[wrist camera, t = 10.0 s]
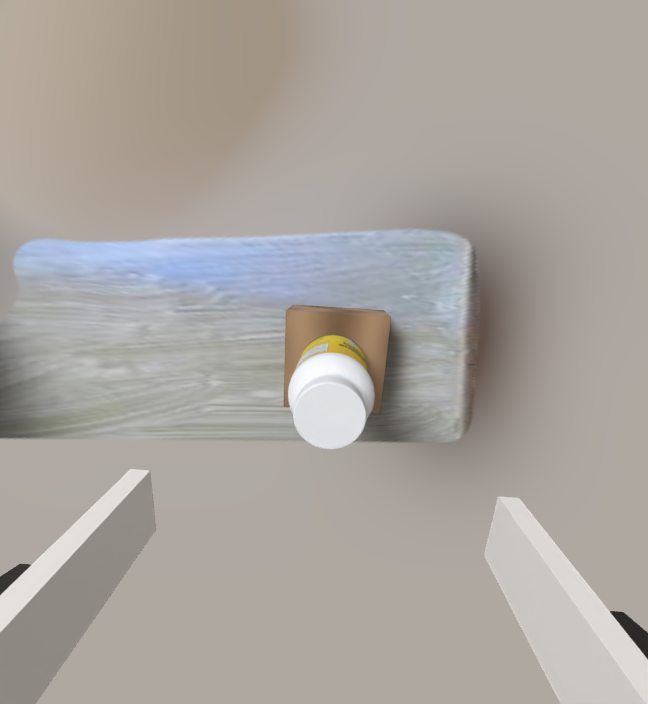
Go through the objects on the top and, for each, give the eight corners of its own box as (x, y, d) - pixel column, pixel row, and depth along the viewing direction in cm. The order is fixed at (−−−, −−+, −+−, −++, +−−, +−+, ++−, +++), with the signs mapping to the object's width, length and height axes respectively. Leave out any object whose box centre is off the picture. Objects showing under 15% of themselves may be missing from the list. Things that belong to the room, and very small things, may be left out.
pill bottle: (370, 389, 31) (388, 455, 20) (307, 399, 32) (291, 469, 21) (359, 326, 30) (373, 360, 19) (294, 338, 30) (268, 378, 19)
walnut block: (290, 388, 37) (283, 406, 32) (293, 304, 34) (285, 310, 30) (374, 394, 37) (380, 413, 32) (383, 310, 34) (391, 317, 29)
